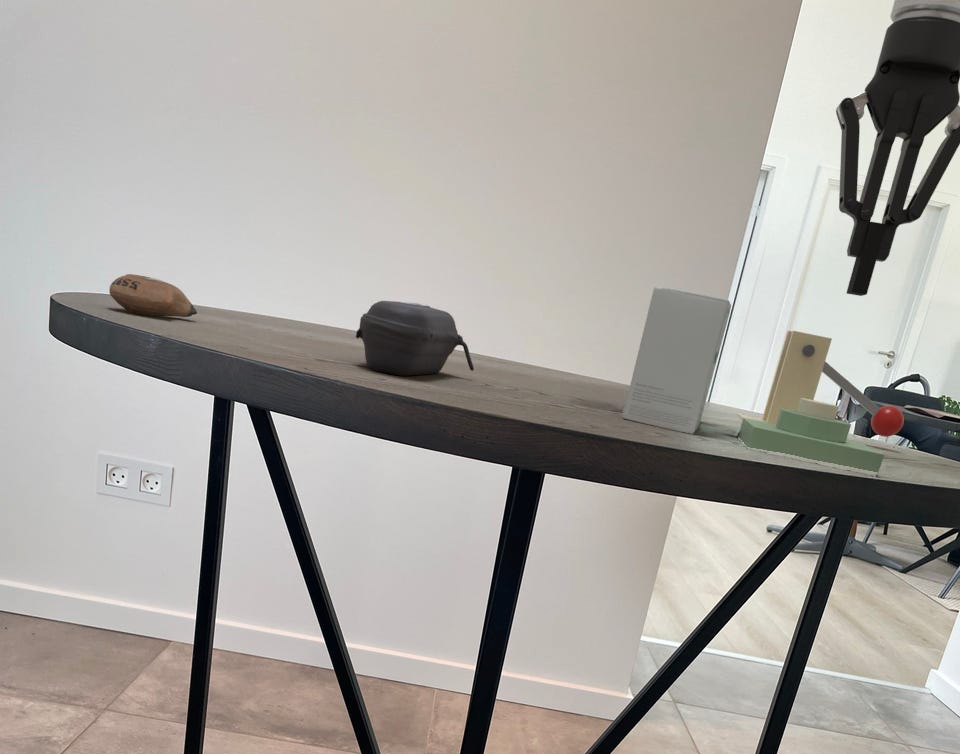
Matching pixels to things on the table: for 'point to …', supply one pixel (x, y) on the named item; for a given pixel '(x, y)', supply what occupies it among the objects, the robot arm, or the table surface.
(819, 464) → the table surface
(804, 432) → the button box
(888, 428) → the lever
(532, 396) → the table surface
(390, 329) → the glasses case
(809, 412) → the button
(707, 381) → the white packaging box
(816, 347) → the bracket
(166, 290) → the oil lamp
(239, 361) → the table surface
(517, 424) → the table surface
